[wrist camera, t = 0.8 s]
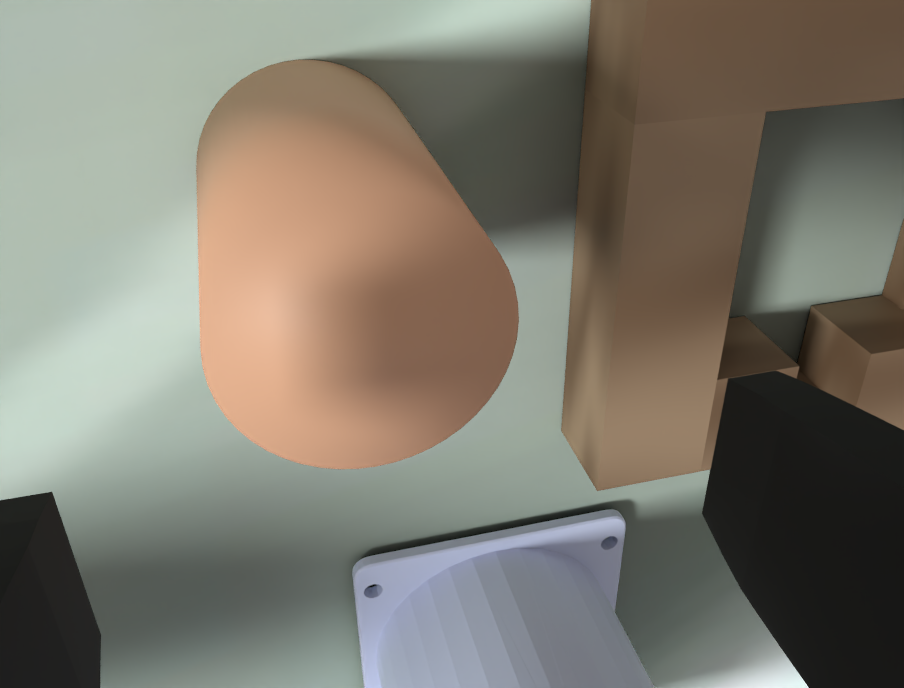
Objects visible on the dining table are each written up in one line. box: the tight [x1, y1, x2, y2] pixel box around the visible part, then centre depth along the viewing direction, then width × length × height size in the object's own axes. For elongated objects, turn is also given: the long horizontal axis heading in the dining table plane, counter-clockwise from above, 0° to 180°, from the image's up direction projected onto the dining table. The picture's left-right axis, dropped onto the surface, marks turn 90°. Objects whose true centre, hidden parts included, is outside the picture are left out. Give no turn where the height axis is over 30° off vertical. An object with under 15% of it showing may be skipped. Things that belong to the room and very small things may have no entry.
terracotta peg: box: [196, 60, 519, 469], centre depth 15 cm, size 4×4×7 cm
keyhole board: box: [561, 0, 904, 491], centre depth 20 cm, size 12×12×2 cm
